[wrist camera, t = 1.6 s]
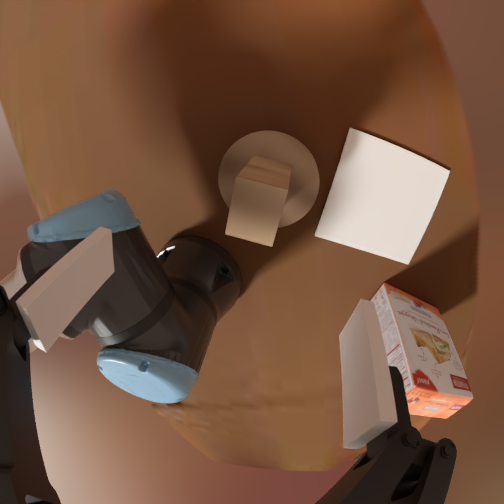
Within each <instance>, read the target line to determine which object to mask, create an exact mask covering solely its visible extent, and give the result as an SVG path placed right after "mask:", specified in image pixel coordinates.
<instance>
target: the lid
mask: <svg viewBox="0 0 504 504" xmlns="http://www.w3.org/2000/svg"><path fill="white" fill-rule="evenodd" d="M218 184H219V189H220V193H221V196H222V198H223V200H224V202H225V203H226V205H227V206H228V208H229V209H230V210H229V215H228V220H227V225H226V231H225V234H226V235H230V236H234V237H237V238H241V239H245V240H249V241H252V242H256V243H260V244H263V245H267V246H271V247H272V246H273V242H274V239H275V235H276V232H277V228H280V227H284V226H288V225H290V224H293V223H295V222H296V221H298V220H300V219H301V218H302V217H304V216H305V215H306V214H307V213H308V212H309V210H310V209H311V208H312V206H313V204H314V203H315V201H316V198H317V195H318V191H319V184H320V180H319V172H318V167H317V164H316V161H315V159H314V157H313V155H312V154H311V152H310V151H309V150H308V148H307V147H306V146H305V145H304V144H303V143H302V142H300V141H299V140H298V139H296V138H295V137H293V136H291V135H289V134H286V133H283V132H279V131H273V130H264V131H257V132H253V133H251V134H248V135H246V136H244V137H242V138H241V139H239V140H238V141H236V142H235V143H234V144H233V145H232V146H231V147H230V148H229V149H228V150H227V152H226V153H225V155H224V156H223V158H222V161H221V163H220V167H219V172H218Z"/></svg>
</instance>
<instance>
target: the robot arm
mask: <svg viewBox="0 0 504 504" xmlns="http://www.w3.org/2000/svg"><path fill="white" fill-rule="evenodd" d="M140 224H141V222H140V220H139V219H137V218H136V217H135V215H134V213H133V211H132V210H131V208H130V206H129V204H128V202H127V201H126V199H125V197H124V196H123V195H122V194H121V193H120V192H118V191H115V190H106V191H103V192H101V193H99V194H96V195H94V196H91V197H89V198H87V199H85V200H82V201H80V202H78V203H76V204H73V205H71V206H69V207H67V208H65V209H63V210H61V211H59V212H57V213H55V214H53V215H51V216H48V217H46V218H44V219H42V220H41V221H39V222H37V223H35V224H33V225H31V226H29V227H28V230H27V232H28V238H29V240H30V241H31V242H29V243H28V244H27V245H25V246H24V247H22V248H21V249H20V251H19V253H18V261H17V268H16V270H15V271H13V272H12V273H11V274H10V275H8V276H7V277H6V278H5V279H3V280H2V281H1V282H0V504H61V503H60V500H59V497H58V495H57V493H56V491H55V489H54V488H53V487H52V486H51V484H50V482H49V480H48V477H47V473H46V470H45V466H44V462H43V458H42V454H41V450H40V445H39V440H38V434H37V429H36V422H35V416H34V408H33V399H32V389H31V375H30V353H31V352H32V351H33V350H35V349H36V348H37V347H39V348H40V349H42V350H43V351H45V352H47V351H48V350H49V349H50V347H51V346H52V345H53V343H54V342H55V341H56V339H57V338H58V337H59V336H61V337H64V338H67V339H73V338H75V337H76V336H78V335H79V334H81V333H82V332H84V331H85V330H89V331H90V332H91V333H92V335H93V336H94V337H95V338H96V339H97V341H98V342H99V343H100V345H101V346H102V348H103V349H102V350H101V351H99V353H98V358H97V364H98V368H99V370H100V371H101V373H102V374H103V375H104V376H105V377H106V378H107V379H108V380H110V381H111V382H112V383H114V384H115V385H116V386H118V387H120V388H121V389H123V390H125V391H127V392H129V393H131V394H133V395H135V396H138V397H141V398H143V399H147V400H150V401H154V402H160V403H176V402H179V401H181V400H183V399H185V398H186V397H187V396H188V395H189V393H190V391H191V389H192V386H193V384H194V382H195V381H196V380H197V379H198V376H199V371H200V368H201V365H202V362H203V360H204V357H205V354H206V351H207V348H208V345H209V342H210V340H211V337H212V334H213V331H214V328H215V326H216V323H217V322H218V321H219V320H220V319H221V318H222V317H223V316H224V315H225V314H226V313H227V312H228V311H229V310H230V309H231V308H232V307H233V305H234V304H235V302H236V300H237V298H238V295H239V292H240V289H241V275H240V271H239V269H238V266H237V264H236V263H235V261H234V260H233V258H232V257H231V256H230V255H229V254H228V253H227V252H226V251H225V250H224V249H223V248H222V247H220V246H219V245H217V244H215V243H213V242H211V241H209V240H207V239H204V238H200V237H193V236H186V237H180V238H176V239H174V240H172V241H170V242H169V243H167V244H166V245H165V246H164V247H163V248H162V250H161V251H160V252H159V253H158V255H157V256H156V255H155V253H154V251H153V249H152V248H151V246H150V244H149V242H148V240H147V238H146V236H145V234H144V232H143V231H142V229H141V227H140ZM339 341H340V355H341V371H342V393H343V448H348V449H360V448H361V447H363V446H364V445H366V444H367V451H366V452H364V453H363V454H361V455H359V456H358V457H356V458H355V460H357V462H356V463H355V464H354V465H353V466H352V467H351V468H350V470H349V471H348V472H347V473H346V474H345V475H344V476H343V477H342V478H341V479H340V480H339V481H338V482H337V483H336V484H335V485H334V486H333V487H332V488H331V489H330V490H329V491H328V492H327V493H326V494H325V495H324V496H323V497H322V498H321V499H320V500H319V501H317V503H315V504H444V501H445V498H446V495H447V492H448V488H449V485H450V481H451V477H452V473H453V469H454V465H455V460H456V453H457V450H456V446H455V444H454V443H453V442H452V441H451V440H450V439H447V438H443V439H441V440H439V441H438V442H436V443H434V442H432V441H429V440H426V439H423V438H422V437H421V435H420V432H419V431H418V430H417V429H416V428H414V427H412V426H411V421H410V415H409V409H408V403H407V397H406V396H405V395H406V392H405V388H404V382H403V377H402V375H401V373H400V371H399V370H398V368H397V367H395V366H389V365H388V360H387V355H386V350H385V346H384V341H383V337H382V332H381V328H380V324H379V320H378V316H377V312H376V308H375V304H374V302H371V301H367V300H363V299H360V301H359V303H358V305H357V306H356V308H355V310H354V312H353V313H352V315H351V317H350V319H349V320H348V322H347V324H346V325H345V327H344V329H343V330H342V332H341V334H340V335H339Z"/></svg>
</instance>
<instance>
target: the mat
mask: <svg viewBox="0 0 504 504" xmlns="http://www.w3.org/2000/svg"><path fill="white" fill-rule="evenodd" d="M449 173H450V171H449V170H447V169H445V168H443V167H441V166H439V165H437V164H435V163H433V162H431V161H429V160H427V159H425V158H423V157H421V156H419V155H417V154H414V153H412V152H410V151H408V150H406V149H403V148H401V147H399V146H396V145H394V144H392V143H389V142H387V141H384V140H382V139H379V138H377V137H374V136H372V135H369V134H366V133H364V132H361V131H358V130H355V129H353V128H349V131H348V134H347V138H346V141H345V144H344V148H343V151H342V154H341V157H340V161H339V164H338V167H337V170H336V173H335V176H334V179H333V182H332V185H331V188H330V191H329V194H328V197H327V200H326V203H325V206H324V209H323V212H322V215H321V218H320V221H319V224H318V226H317V229H316V232H315V236H316V237H320V238H323V239H327V240H330V241H333V242H337V243H340V244H344V245H347V246H350V247H354V248H357V249H360V250H363V251H367V252H370V253H373V254H376V255H380V256H383V257H386V258H389V259H392V260H395V261H399V262H402V263H405V264H409V262H410V260H411V258H412V256H413V254H414V253H415V251H416V249H417V247H418V245H419V243H420V241H421V238H422V236H423V234H424V232H425V230H426V228H427V226H428V224H429V222H430V219H431V217H432V215H433V213H434V210H435V208H436V206H437V203H438V201H439V198H440V196H441V194H442V191H443V189H444V186H445V183H446V181H447V178H448V176H449Z"/></svg>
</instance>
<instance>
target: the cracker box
mask: <svg viewBox="0 0 504 504" xmlns="http://www.w3.org/2000/svg"><path fill="white" fill-rule="evenodd" d="M370 301H371V302H374V304H375V308H376V312H377V316H378V320H379V324H380V328H381V332H382V337H383V341H384V346H385V350H386V355H387V360H388V365H389V366H395V367H397V368H398V370H399V371H400V373H401V375H402V377H403V382H404V388H405V392H406V395H405V396H406V397H407V403H408V409H409V414H414V415H421V416H429V417H438V418H448V417H450V416H451V415H452V414H454V413H455V412H456V411H458V410H459V409H461V408H462V407H464V406H465V405H466V404H468V403H469V402H470V401H471V400H472V399H473V395H472V392H471V389H470V386H469V383H468V381H467V377H466V375H465V372H464V369H463V367H462V364H461V362H460V359H459V356H458V354H457V351H456V349H455V347H454V344H453V342H452V339H451V337H450V335H449V332H448V330H447V328H446V326H445V324H444V322H443V319H442V317H441V315H440V313H439V311H438V309H437V308H436V307H434V306H432V305H430V304H428V303H426V302H424V301H422V300H420V299H418V298H416V297H414V296H412V295H410V294H408V293H406V292H404V291H401V290H400V289H398V288H395V287H393V286H391V285H389V284H387V283H385V282H384V283H383V284H382V286H381V287H380V288H379V290H378V291H377V292H376V293H375V295H374V296H373V297H372V299H371V300H370Z"/></svg>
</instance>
